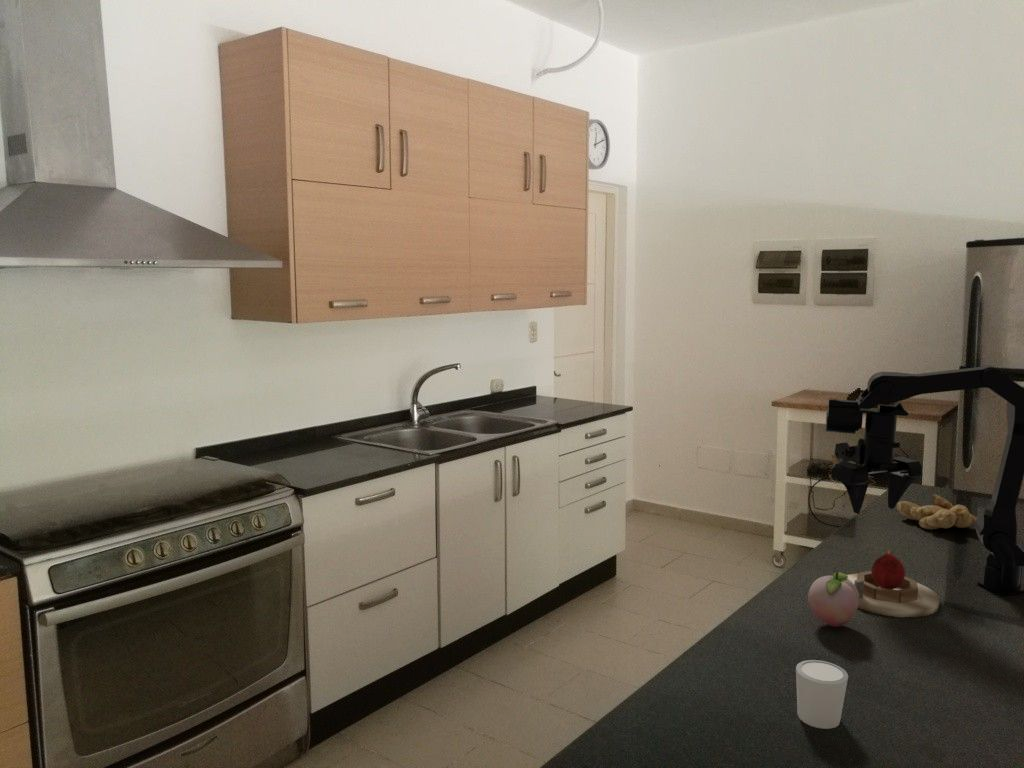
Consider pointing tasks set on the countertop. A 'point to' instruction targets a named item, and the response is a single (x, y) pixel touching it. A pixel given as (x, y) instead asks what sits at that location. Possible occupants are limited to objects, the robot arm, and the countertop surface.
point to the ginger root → (937, 514)
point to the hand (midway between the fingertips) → (873, 510)
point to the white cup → (820, 693)
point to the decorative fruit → (834, 599)
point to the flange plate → (901, 609)
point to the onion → (888, 571)
